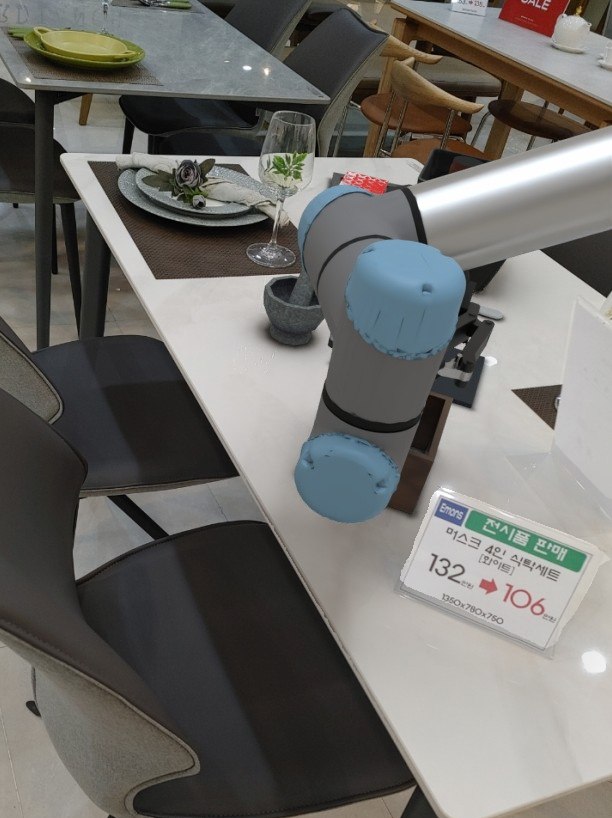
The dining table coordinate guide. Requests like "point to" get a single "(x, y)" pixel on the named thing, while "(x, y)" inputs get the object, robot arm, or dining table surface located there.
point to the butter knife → (490, 312)
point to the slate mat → (450, 389)
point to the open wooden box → (417, 462)
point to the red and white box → (365, 183)
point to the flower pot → (440, 166)
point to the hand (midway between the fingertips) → (431, 282)
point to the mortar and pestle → (292, 308)
